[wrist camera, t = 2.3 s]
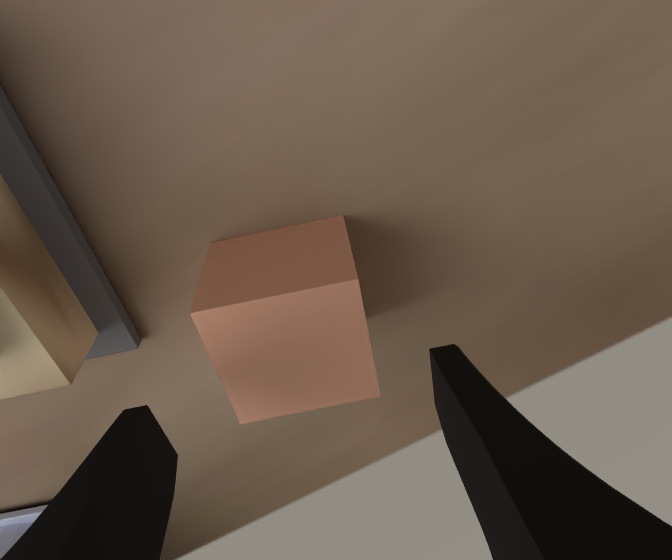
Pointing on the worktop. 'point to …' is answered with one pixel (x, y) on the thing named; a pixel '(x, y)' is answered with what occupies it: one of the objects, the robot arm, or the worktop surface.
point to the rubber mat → (62, 236)
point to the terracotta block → (286, 320)
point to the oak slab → (35, 310)
